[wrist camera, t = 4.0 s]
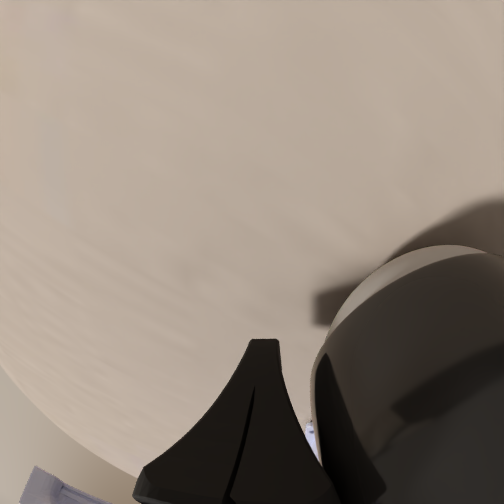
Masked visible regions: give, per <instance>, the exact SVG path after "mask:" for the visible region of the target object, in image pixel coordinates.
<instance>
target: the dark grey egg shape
mask: <svg viewBox="0 0 504 504" xmlns="http://www.w3.org/2000/svg"><path fill="white" fill-rule="evenodd" d="M310 404H311V415H312V423H313V429H314V435H315V441H316V447H317V453H318V458H319V462H320V464H321V466H322V467H323V469H324V470H325V472H326V473H327V475H328V476H329V478H330V479H331V481H332V483H333V485H334V487H335V490H336V492H337V494H338V497H339V499H340V502H341V504H504V256H500V255H496V254H489V253H486V252H484V251H482V250H478V249H475V248H471V247H466V246H459V245H438V246H431V247H426V248H421V249H418V250H414V251H411V252H409V253H406V254H404V255H402V256H399V257H397V258H395V259H393V260H392V261H390V262H388V263H386V264H385V265H383V266H382V267H380V268H379V269H377V270H376V271H375V272H373V273H372V274H371V275H369V276H368V277H367V278H366V279H365V280H364V281H363V282H362V283H361V284H360V285H359V286H358V287H357V288H356V289H355V290H354V291H353V292H352V293H351V294H350V296H349V297H348V298H347V299H346V301H345V302H344V304H343V305H342V307H341V308H340V310H339V311H338V313H337V315H336V317H335V318H334V320H333V322H332V324H331V327H330V329H329V331H328V334H327V336H326V339H325V343H324V344H323V346H322V347H321V349H320V351H319V353H318V355H317V357H316V359H315V362H314V365H313V368H312V372H311V378H310Z"/></svg>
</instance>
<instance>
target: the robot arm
mask: <svg viewBox="0 0 504 504" xmlns="http://www.w3.org/2000/svg"><path fill="white" fill-rule="evenodd" d="M132 496H133V498H134V499H135V500H136V501H138V502H140V503H141V504H341V502H340V499H339V497H338V494H337V492H336V490H335V487H334V485H333V483H332V481H331V479H330V478H329V476H328V475H327V473H326V472H325V470H324V469H323V467H322V466H321V464H320V462H319V458H318V453H317V447H316V441H315V435H314V429H313V423H312V422H309V423H307V424H306V434H305V435H304V433H303V431H302V428H301V426H300V424H299V422H298V419H297V417H296V415H295V412H294V410H293V407H292V404H291V401H290V399H289V396H288V393H287V389H286V386H285V382H284V378H283V375H282V366H281V356H280V346H279V341H278V340H277V339H252V340H250V342H249V344H248V347H247V349H246V351H245V353H244V355H243V357H242V359H241V361H240V363H239V365H238V367H237V368H236V370H235V372H234V374H233V375H232V377H231V379H230V380H229V382H228V383H227V385H226V386H225V388H224V389H223V391H222V392H221V394H220V395H219V397H218V398H217V399H216V401H215V402H214V403H213V405H212V406H211V407H210V408H209V410H208V411H207V412H206V413H205V414H204V416H203V417H202V418H201V419H200V420H199V421H198V422H197V423H196V424H195V425H194V426H193V427H192V429H191V430H190V431H189V432H187V433H186V434H185V435H184V436H183V437H182V438H181V439H180V440H179V441H178V442H176V443H175V444H174V445H173V446H172V447H171V448H169V449H168V450H167V451H166V452H164V453H163V454H162V455H160V456H159V457H157V458H156V459H155V460H153V461H152V462H150V463H149V464H147V465H146V466H144V467H143V469H142V471H141V473H140V475H139V477H138V480H137V482H136V486H135V488H134V492H133V495H132ZM19 504H112V503H109V502H107V501H104V500H102V499H99V498H96V497H94V496H92V495H90V494H87V493H85V492H83V491H81V490H78V489H76V488H74V487H72V486H70V485H68V484H66V483H64V482H63V481H62V480H60V479H59V478H57V477H55V476H54V475H52V474H50V473H48V472H46V471H45V470H43V469H41V468H39V467H38V466H34V468H33V471H32V473H31V475H30V477H29V480H28V482H27V484H26V487H25V489H24V491H23V494H22V496H21V498H20V501H19Z"/></svg>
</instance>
